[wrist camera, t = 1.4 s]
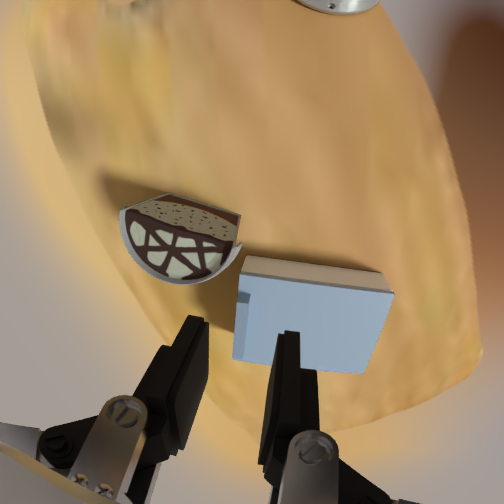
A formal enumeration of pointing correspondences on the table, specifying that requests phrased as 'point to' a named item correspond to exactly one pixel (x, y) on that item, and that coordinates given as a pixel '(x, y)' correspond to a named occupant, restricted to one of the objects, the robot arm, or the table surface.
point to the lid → (309, 321)
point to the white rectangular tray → (315, 273)
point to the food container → (179, 238)
